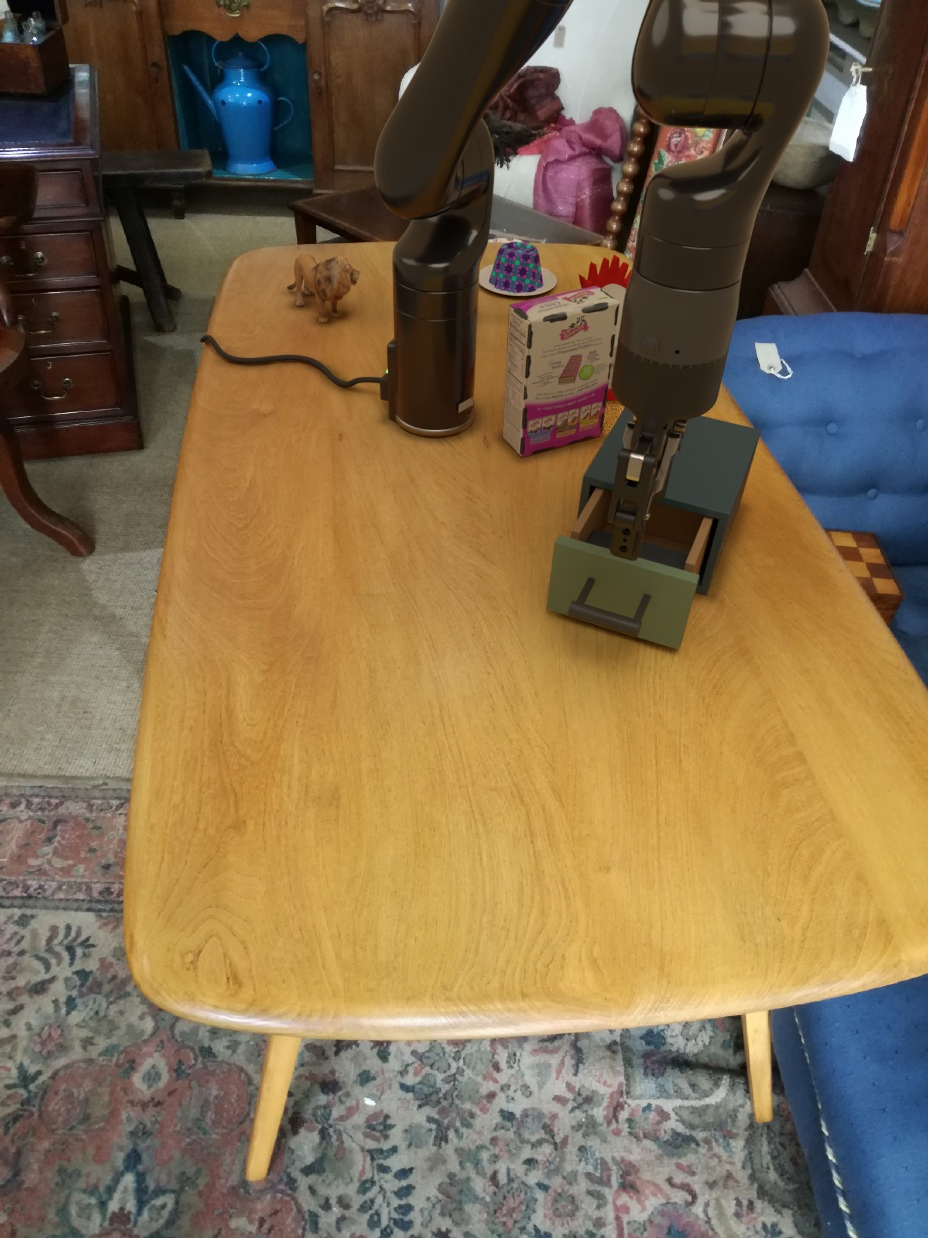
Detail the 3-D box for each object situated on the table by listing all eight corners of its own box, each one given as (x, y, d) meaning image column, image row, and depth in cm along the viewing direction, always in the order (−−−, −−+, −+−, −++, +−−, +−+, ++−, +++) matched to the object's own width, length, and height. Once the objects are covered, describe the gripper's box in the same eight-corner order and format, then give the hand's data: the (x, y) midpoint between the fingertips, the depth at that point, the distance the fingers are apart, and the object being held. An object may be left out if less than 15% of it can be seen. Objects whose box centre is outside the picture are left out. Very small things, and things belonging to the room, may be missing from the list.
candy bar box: (579, 416, 112) (597, 283, 101) (602, 437, 109) (623, 301, 98) (498, 437, 108) (507, 301, 97) (520, 459, 105) (531, 320, 94)
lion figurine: (367, 321, 129) (364, 256, 122) (337, 333, 126) (332, 267, 120) (301, 287, 136) (296, 224, 130) (271, 297, 133) (264, 233, 127)
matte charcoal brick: (573, 588, 86) (578, 559, 84) (590, 557, 89) (594, 528, 87) (669, 616, 83) (676, 587, 81) (682, 583, 87) (689, 554, 84)
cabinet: (706, 595, 89) (729, 514, 82) (571, 556, 92) (583, 475, 86) (739, 507, 99) (761, 429, 93) (616, 475, 103) (629, 398, 96)
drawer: (664, 687, 79) (682, 620, 73) (527, 643, 82) (534, 575, 77) (714, 555, 92) (732, 490, 86) (594, 522, 95) (604, 457, 90)
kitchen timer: (520, 361, 122) (530, 246, 111) (605, 339, 127) (621, 227, 117) (583, 411, 113) (599, 291, 103) (671, 384, 118) (695, 268, 108)
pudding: (568, 277, 142) (572, 242, 138) (537, 307, 134) (540, 271, 130) (496, 261, 145) (498, 226, 142) (462, 289, 137) (463, 253, 134)
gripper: (708, 393, 58) (663, 591, 69) (747, 304, 67) (702, 489, 78) (591, 368, 60) (566, 565, 71) (646, 285, 69) (616, 468, 80)
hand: (638, 525), depth 74 cm, fingers open, 8 cm apart
